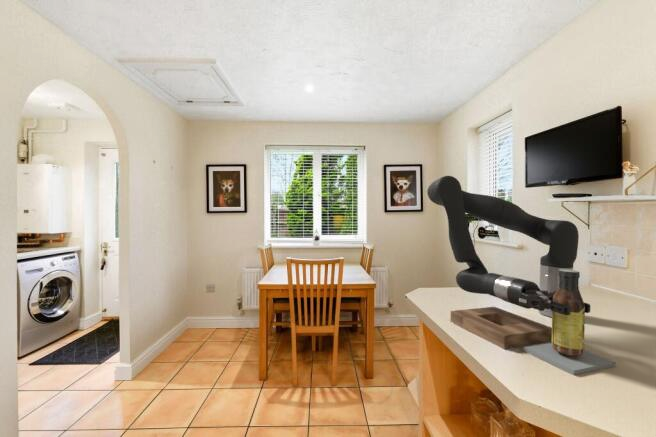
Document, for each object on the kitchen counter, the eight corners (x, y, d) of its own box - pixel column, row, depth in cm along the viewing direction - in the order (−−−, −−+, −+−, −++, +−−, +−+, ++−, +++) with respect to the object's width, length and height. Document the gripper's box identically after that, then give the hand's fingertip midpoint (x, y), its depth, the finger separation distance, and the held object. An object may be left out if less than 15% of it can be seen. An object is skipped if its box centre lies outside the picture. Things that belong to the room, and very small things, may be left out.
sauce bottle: (589, 359, 70) (594, 274, 69) (559, 356, 71) (563, 272, 70) (573, 346, 76) (577, 268, 76) (545, 343, 78) (549, 267, 77)
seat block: (494, 316, 102) (494, 306, 102) (554, 341, 83) (554, 328, 83) (450, 321, 97) (450, 311, 97) (504, 349, 78) (504, 335, 78)
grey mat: (561, 344, 81) (561, 340, 81) (615, 366, 70) (615, 361, 70) (522, 350, 77) (522, 346, 77) (573, 375, 66) (573, 370, 66)
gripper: (496, 279, 85) (558, 296, 69) (534, 277, 89) (600, 292, 73) (495, 305, 85) (557, 328, 69) (533, 302, 89) (599, 322, 73)
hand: (579, 309), depth 71 cm, fingers closed on sauce bottle, 6 cm apart
